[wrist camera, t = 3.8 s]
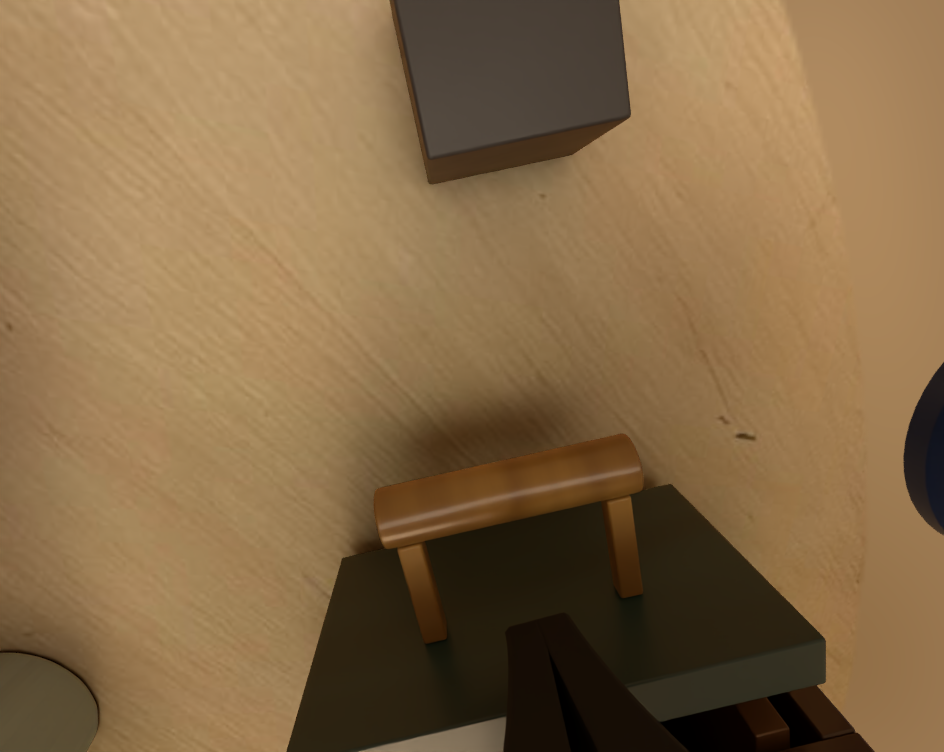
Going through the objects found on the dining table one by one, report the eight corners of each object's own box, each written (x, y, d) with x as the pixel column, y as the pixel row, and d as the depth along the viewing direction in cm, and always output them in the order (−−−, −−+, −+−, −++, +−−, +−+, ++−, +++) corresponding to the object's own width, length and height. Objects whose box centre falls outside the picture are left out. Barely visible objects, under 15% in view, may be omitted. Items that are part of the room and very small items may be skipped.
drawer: (304, 444, 15) (207, 596, 9) (659, 365, 15) (825, 455, 9) (432, 833, 20) (431, 1121, 13) (700, 769, 20) (829, 1021, 14)
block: (550, -18, 13) (606, -142, 9) (574, 154, 14) (632, 116, 10) (391, 14, 13) (372, -95, 9) (428, 185, 14) (427, 160, 10)
